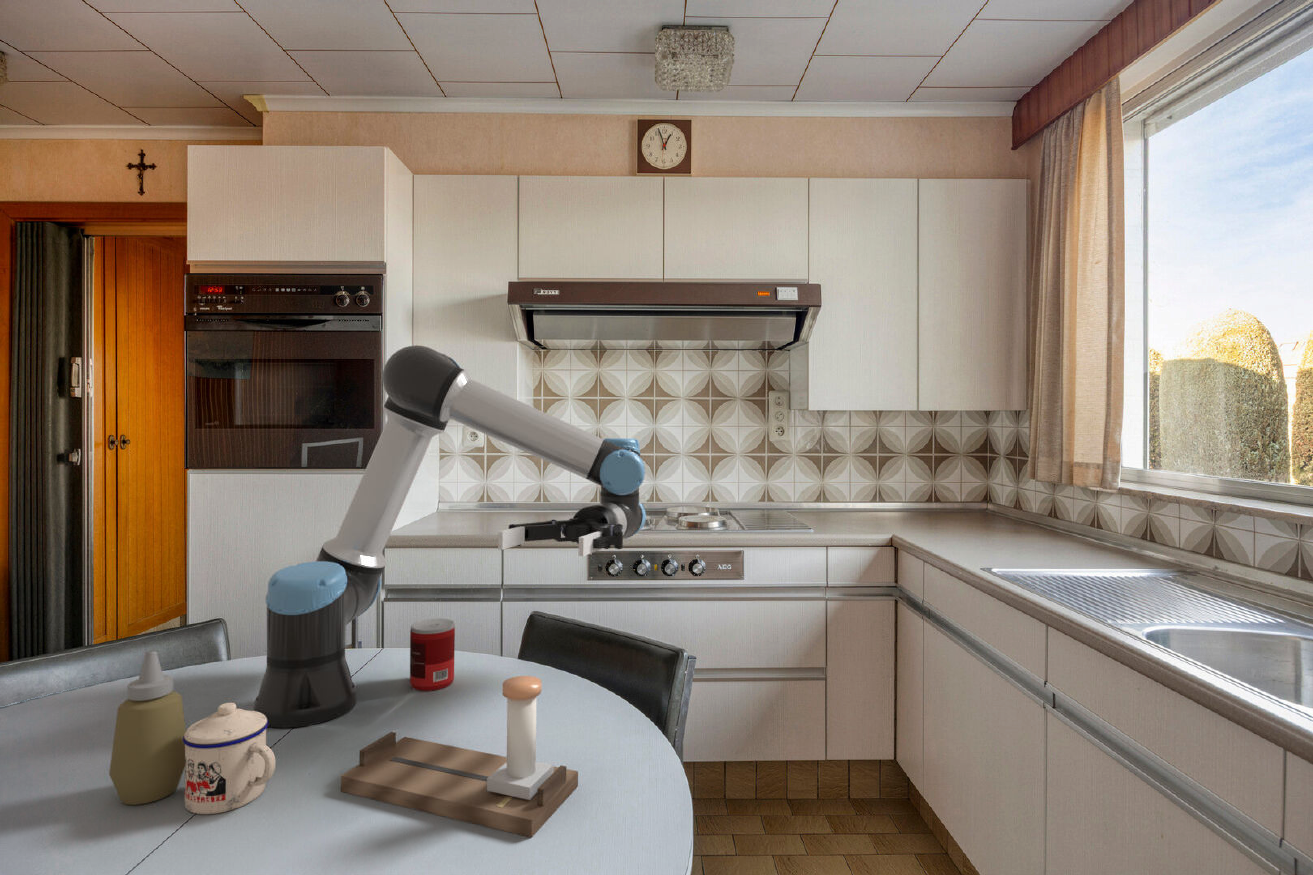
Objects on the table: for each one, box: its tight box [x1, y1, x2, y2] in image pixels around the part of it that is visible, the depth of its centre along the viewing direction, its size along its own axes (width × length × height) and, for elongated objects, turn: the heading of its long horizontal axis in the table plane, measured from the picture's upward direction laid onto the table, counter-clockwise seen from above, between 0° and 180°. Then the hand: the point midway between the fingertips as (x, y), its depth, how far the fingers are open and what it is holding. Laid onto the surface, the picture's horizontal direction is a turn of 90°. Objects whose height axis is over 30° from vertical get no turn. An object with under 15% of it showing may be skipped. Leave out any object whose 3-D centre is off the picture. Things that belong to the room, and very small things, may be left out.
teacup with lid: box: [183, 702, 277, 815], centre depth 85 cm, size 12×9×12 cm
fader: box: [487, 675, 555, 800], centre depth 85 cm, size 6×6×13 cm
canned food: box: [409, 618, 456, 692], centre depth 124 cm, size 8×8×11 cm
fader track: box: [340, 731, 579, 838], centre depth 88 cm, size 28×12×4 cm, turn 71°
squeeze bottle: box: [108, 650, 187, 806], centre depth 86 cm, size 8×8×18 cm
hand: (539, 543), depth 100 cm, fingers open, 13 cm apart
